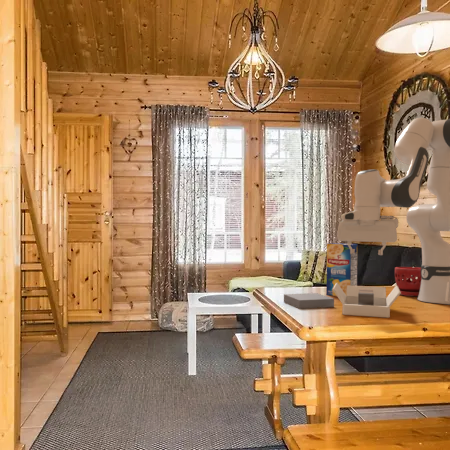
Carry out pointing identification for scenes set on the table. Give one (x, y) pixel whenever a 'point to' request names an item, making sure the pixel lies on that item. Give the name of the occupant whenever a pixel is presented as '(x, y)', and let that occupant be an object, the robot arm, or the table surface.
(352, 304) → the carton
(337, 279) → the blue cardboard box
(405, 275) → the plant pot
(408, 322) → the table surface
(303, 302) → the slate platform
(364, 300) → the walnut block
